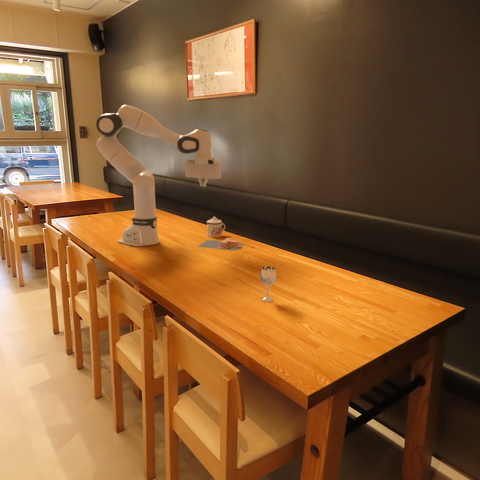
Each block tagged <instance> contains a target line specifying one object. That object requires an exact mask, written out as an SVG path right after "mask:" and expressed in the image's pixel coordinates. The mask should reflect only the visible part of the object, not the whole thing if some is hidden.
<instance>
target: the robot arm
mask: <svg viewBox="0 0 480 480" xmlns="http://www.w3.org/2000/svg"><path fill="white" fill-rule="evenodd" d="M119 107H120V108H119V109H118V110H117V112H114V113H113V112H112V113H109V112H106V113H104V114H103V113H102V114H101V115H99V116H98V117H97V119H96V123H95V127H96V129H97V131H98V132H99V133H100V137H99V138H98V139H97V141H96V145H95V147H96V148H97V150H98V152H99V153H100V154H101V155H102V156H103V158H104V159H105V160H107V162H108V163H109V164H110V165H111V166H112V167H114V169H115V170H116V171H118V172H119V173H120V174H121V175H122V176H123V177H125V178H126V179H127V180H128V181H130V183H132V193H133V203H134V204H133V205H134V206H133V207H134V217H132V218H131V219H130V222H132V224H130V225H129V226H128V227H126V228H125V229H124V230H123V232H122V236H121V238H120V239H118V241H117V242H118V244H123V245H129V246H134V247H143V246H145V247H146V246H151V245H152V246H153V245H157V244H159V243H160V239H159V236H158V235H159V234H158V227H157V226H158V223H157V222H158V220H157V219H158V218H157V216H156V214H157V212H156V210H157V209H156V186H155V176H154V175H153V173H152V172H151V171H150V170H149V169H147V168H146V166H145V165H143V163H141V162H140V161H139V160H138V159H137V158H136V157H134V156H133V154H132V153H131V152H130V151H129V150H127V148H126V147H125V146H123V145H122V144H121V142H120V141H119V140H118V136H119V134H120V132H121V129H122V128H127V129H130V130H132V131H134V132H135V133H138V134H140V135H143V136H146V137H153V138H158V139H161V140H163V141H165V142H166V143H169V144H171V145H172V146H174V147H176V149H177V150H178V152H180V153H181V154H184V155H189V154H192V153H194V159H188V160H186V161H185V162H184V164H185V171H184V175H185V177H186V178H197V180H198V183H199V186H200V187H205V188H206V186H207V183H208V181H209V179H211V180H212V179H213V180H214V179H216V180H217V179H218V180H219V179H221V178H222V168H221V165H220V162H221V160H219V159H217V158H214V157H212V153H211V148H212V137H211V132H210V131H208V130H206V129H203V128H202V129H201V128H196V129H194V130H193V131H191V132H189V133H187V134H179V133H176V132H174V131H173V130H170V129H169V128H167V127H165V126H163V125H162V124H161V123H160V122H159V121H158V119H156V118H155V117H154V116H153V115H151V114H149V113H148V112H146V111H144V110H143V109H140V108H137V107H135V106H133V105H132V106H131V105H130V104H123V105H121V106H119ZM203 179H204V182H203V181H202V180H203Z"/></svg>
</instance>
